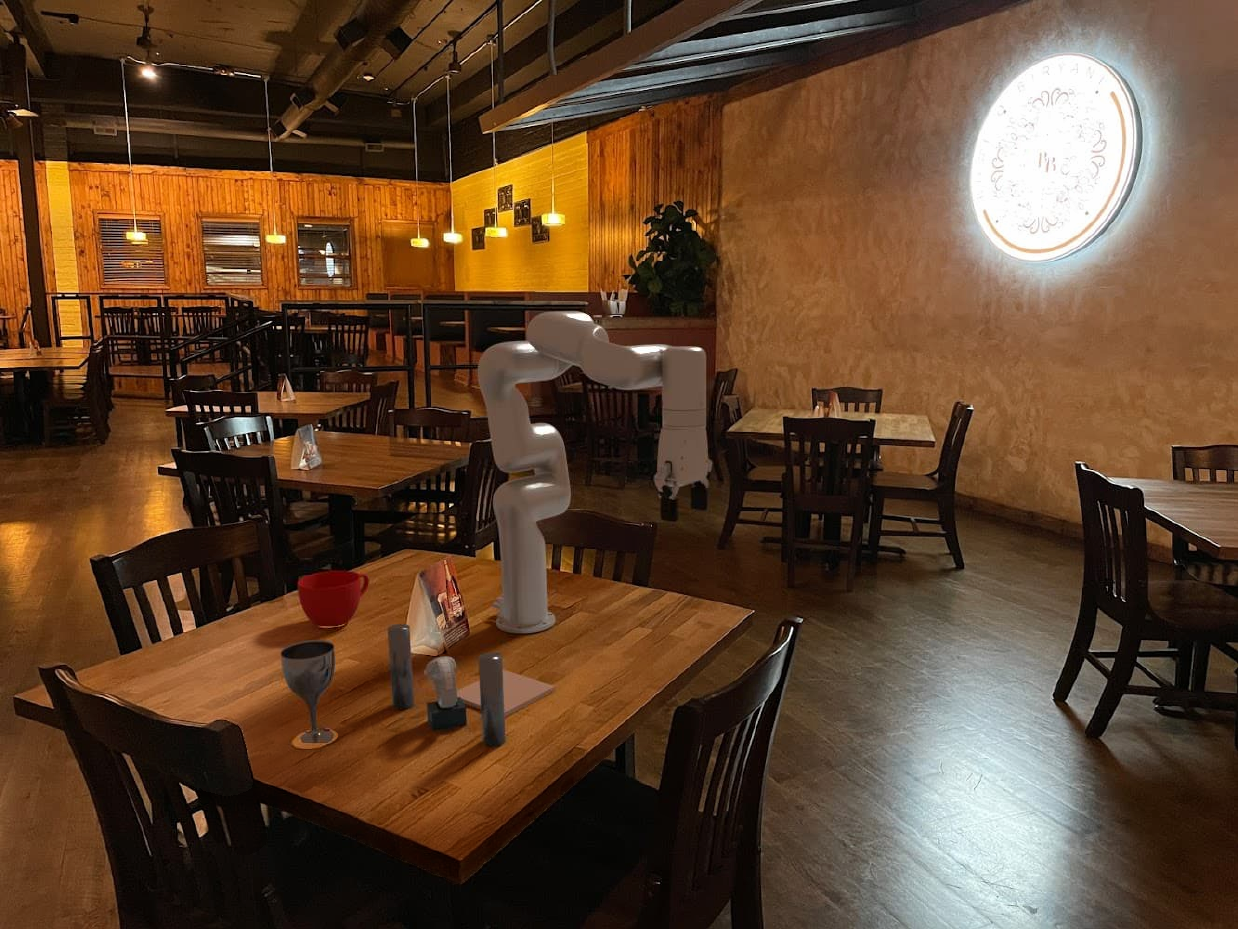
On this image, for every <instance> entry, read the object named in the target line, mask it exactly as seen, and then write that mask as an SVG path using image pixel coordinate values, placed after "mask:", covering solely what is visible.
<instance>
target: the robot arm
mask: <svg viewBox="0 0 1238 929" xmlns="http://www.w3.org/2000/svg"><path fill="white" fill-rule="evenodd" d="M526 338H527V340H513V341H503V342H500V343H496V344H493V345H492V346H489V347H488V348H486V350H485V351H484V352H483V353H482V355H481V356H480V359H479V360H478V361H479V362H478V366H477V382H478V385H479V389H480V392H481V395H482V398H483V402H484V404H485V407H486V408H485V410H486V414H487V422H488V428H489V435H490V442H491V448H492V454H493V459H494V463H495V465H496V466H497V469H499V470H500V471H502V472H504V473H508V474H509V473H510V474H511V473H512V474H513V473H520V472H526V471H530V470H533V471H534V475H528V476H524V477H519V478H514V479H511V480H508V481H506V482H504V483H502V484H500V485H499V487H498V488H497V489H496V490H495V491H494V494H493V498H492V504H493V505H492V506H493V512H494V516H495V519H496V523H497V528H498V537H499V550H500V554H499V555H500V567H501V568H500V570H501V575H500V576H501V589H502V591H501V594H502V597H501V596H498V597H497V598H496V600H495V601H494V602H493V603H492V609H493V610H494V609H495V610H499V615H498V616H497V617H496V620H495V623H496V624H495V626H496V627H497V628H498V629H499V630H501V631H503V632H506V633H512V634H532V633H538V632H542V631H545V630H547V629H551V627H553V626H554V625H555V623H556V616H555V614H554V613H552V612H551V611H548V589H547V588H548V585H547V582H548V581H547V557H546V556H547V554H546V553H547V552H546V541H545V538H544V536H543V533H542V532H541V531H540V528H539V527H538V525H537V522H538V521H541V520H545V519H549V518H552V517H556V516H559V515H562V514H563V513H565V512H566V511H567V510H568V508H569V506H570V503H571V499H572V497H571V495H572V494H571V493H572V492H571V482H570V476H569V475H570V474H569V469H568V463H567V462H568V460H567V453H566V448H565V443H564V441H563V440H564V439H563V438H562V436H561V434H560V432H559V431H558V429H557V428H556V427H555V426H553V425H551V424H549V423H545V422H536V423H531V419H530V415H529V414H530V413H529V407H528V404H527V401H526V398H525V397H524V396H523V394H522V392H521V391H520V390H519V389H518V388H517V387H516V385H517V384H523V383H535V382H543V381H545V382H546V381H550V380H553V379H556V378H557V377H560V376H561V375H563V373H565V372H566V371H567V370H569V368H571V367H572V366H575V367H579V368H580V369H581V370H582V372H583V373H584V374H585V375H586V377H588V378H589V379H590V380H593V381H594V382H596V383H599V384H602V385H606V386H608V387H612V388H615V389H618V390H625V391H631V390H638V389H639V390H640V389H647V388H648V389H649V388H657V387H662V388H661V389H662V391H661V393H662V394H661V395H662V396H661V397H662V399H661V400H662V405H661V406H662V407H661V408H662V410H661V412H662V427H661V429H660V434H659V438H658V448H657V450H658V451H657V463H656V466H657V467H656V468H657V469H656V470H657V472H656V473H655V475H654V476H653V481H654V484H655V490H656V492H657V493H658V498H660V520H662V521H664V522H665V521H666V522H671V523H676V522H678V521H679V500H678V498H677V495H678V492H679V490H680V487H685V486H688V485H690V484H692V486H690V508H691V510H696V511H702V512H705V511H708V488H709V486H710V482H709V480H710V478H711V475H712V473H711V472H712V468H713V462H714V461H712V460H711V459H710V458H709V455H708V454H709V450H708V447H709V446H708V437H707V430H706V427H707V354H706V352H705V350H704V349H703V348H702V347H699V346H673V345H668V344H663V343H661V344H660V343H655V344H653V343H652V344H639V345H638V344H637V345H620V344H616V343H613V342H610V339H609V334H608V332H607V330H605V328H603V327H602V326H601V325H599V324H596V323H595V322H594V320H593V318H592V317H591V316H589V315H588V314H586V313H584V312H582V311H577V310H570V311H569V310H567V311H566V310H564V311H563V310H562V311H561V310H560V311H556V310H555V311H545V312H541V313H539V314H537V315H535V316H534V317H533V318H532V319H531V320H530V321H529V323H528V326H527V328H526ZM669 487H671V489H670V488H669Z"/></svg>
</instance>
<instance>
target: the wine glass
mask: <svg viewBox="0 0 1238 929" xmlns="http://www.w3.org/2000/svg"><path fill="white" fill-rule="evenodd" d="M280 661H281V662H280V663H281V670H282V673H283V677H284V680H285V683H286V685H287V686H288V688H289V690H290V691H291V692H293V693H294V694H295V695H297V696H298V697H299V698H300V699H302V700H303V701H304V702H305V704H306V706H307V708H308V712H309V716H310V717H309V718H310V722H311V729H312V730H311V731H309V732H306V733H305V734H303V735H302V736H301V737H300V738H301V741H302V743H313V744H314V743H328V742H330V741H332V739H333V737H334V734H333V732H331V731H330V729H325V728H326V727H319V728H320V729H317V728H318V725H317V723H318V722H317V709H318V703H319V701H320V698H321V697H322V695H324V693H325V692H326V690H327V689H328V688H329V686H330V685H331V684H332V682H333V679H334V674H335V669H336V651H335V644H334V643H333V642H331V641H329V640H324V639H311V640H303V641H299V642H295V643H291V644H289V645H287V646H285V647H284V648H283V649H281V652H280Z"/></svg>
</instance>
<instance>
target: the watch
mask: <svg viewBox="0 0 1238 929" xmlns="http://www.w3.org/2000/svg"><path fill="white" fill-rule="evenodd" d="M455 660H456V659H454V658H453V657H451V656H445V655H444V656H440V657H436V658H434V659H432V660H430V661H429V662H428V664H427V665H426V667H425V669H424V670H423V672H424V675H427V677H428V678H429V679H428V680H430V682H431V685H433V687H434V691H435V696H436V700H435V701H431V702H426V709H427V713H426V714H427V721H428V724H429V726H430V728H431V730H432V733H433V732H439V731H444V730H448V729H454V728H458V727H465V726H467V724H468V722H467V721H468V720H467V707H466V704H464V703H463V701H462V699H461V698H460V697H457V690H458V689H457V682H456V676H455V675H456V674H455V673H456V672H457V664H456V661H455Z"/></svg>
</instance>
